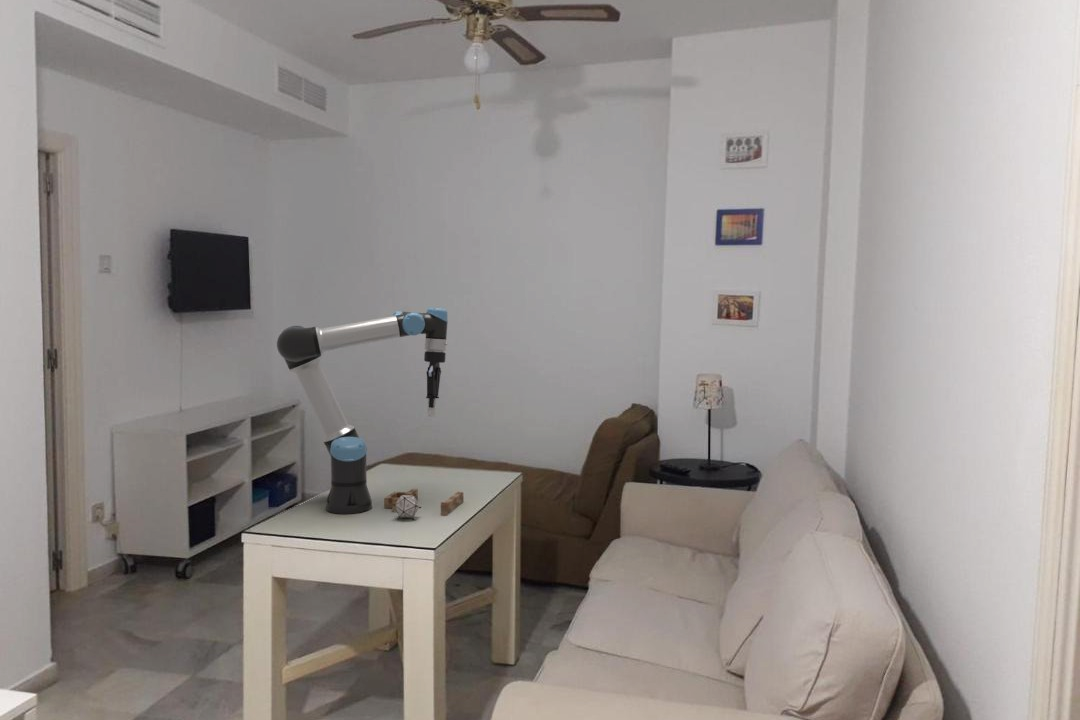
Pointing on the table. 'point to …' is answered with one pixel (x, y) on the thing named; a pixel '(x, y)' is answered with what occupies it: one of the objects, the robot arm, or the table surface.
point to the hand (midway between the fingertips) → (431, 416)
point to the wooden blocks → (393, 498)
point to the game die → (406, 506)
